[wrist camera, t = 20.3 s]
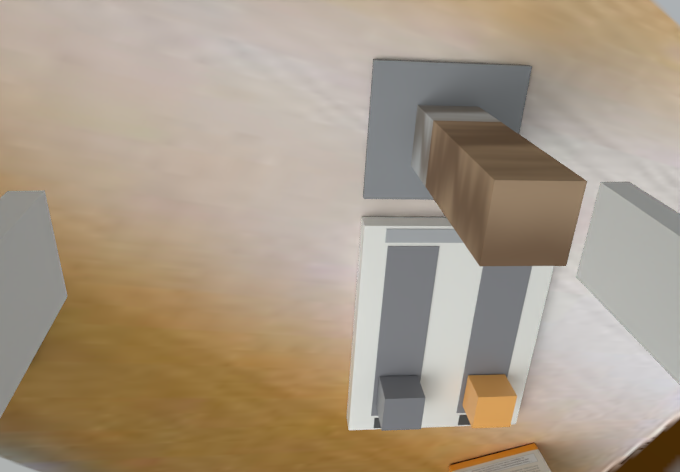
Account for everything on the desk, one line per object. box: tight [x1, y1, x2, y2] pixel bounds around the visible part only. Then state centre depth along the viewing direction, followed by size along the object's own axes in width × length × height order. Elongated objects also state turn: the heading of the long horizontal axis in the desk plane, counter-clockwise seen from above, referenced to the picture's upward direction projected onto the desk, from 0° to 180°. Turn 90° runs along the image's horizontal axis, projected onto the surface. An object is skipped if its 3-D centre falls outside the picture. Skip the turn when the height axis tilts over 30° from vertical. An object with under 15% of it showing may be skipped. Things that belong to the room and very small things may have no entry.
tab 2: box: [462, 374, 517, 428], centre depth 44 cm, size 3×3×2 cm
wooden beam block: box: [411, 105, 587, 266], centre depth 30 cm, size 4×4×14 cm
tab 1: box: [376, 376, 425, 430], centre depth 43 cm, size 3×3×2 cm
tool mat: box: [363, 59, 532, 200], centre depth 37 cm, size 9×10×1 cm
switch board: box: [347, 217, 554, 430], centre depth 43 cm, size 18×14×2 cm
